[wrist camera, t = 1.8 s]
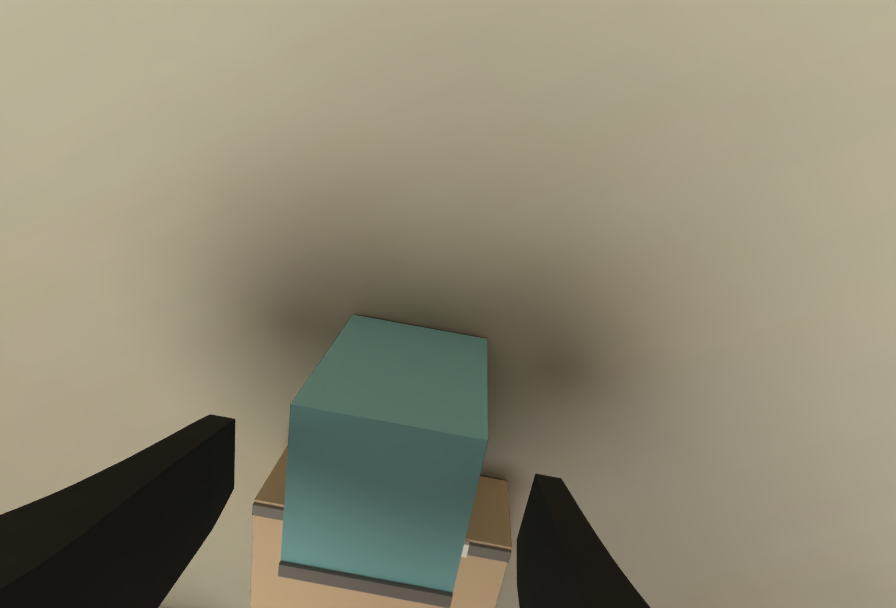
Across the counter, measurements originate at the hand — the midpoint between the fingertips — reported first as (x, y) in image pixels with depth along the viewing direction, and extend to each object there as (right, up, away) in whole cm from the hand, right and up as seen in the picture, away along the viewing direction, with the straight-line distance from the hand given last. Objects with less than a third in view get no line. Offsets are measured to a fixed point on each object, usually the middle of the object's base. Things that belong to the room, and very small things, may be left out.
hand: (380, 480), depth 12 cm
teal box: (0, +1, +5) cm, 5 cm away
